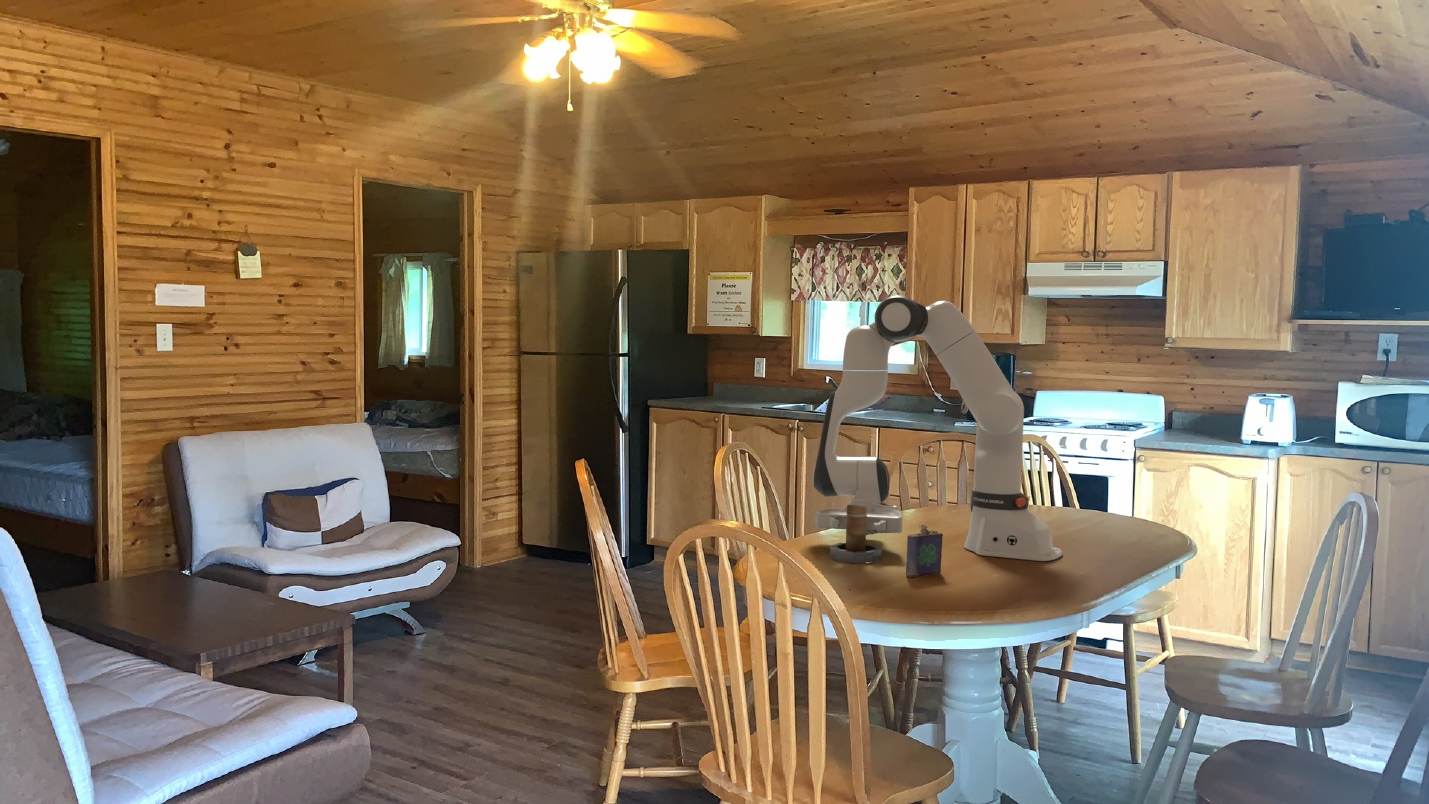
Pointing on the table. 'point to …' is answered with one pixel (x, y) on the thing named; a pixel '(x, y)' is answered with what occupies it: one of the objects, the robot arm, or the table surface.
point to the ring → (855, 554)
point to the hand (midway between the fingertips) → (855, 526)
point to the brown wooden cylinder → (856, 527)
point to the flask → (924, 553)
